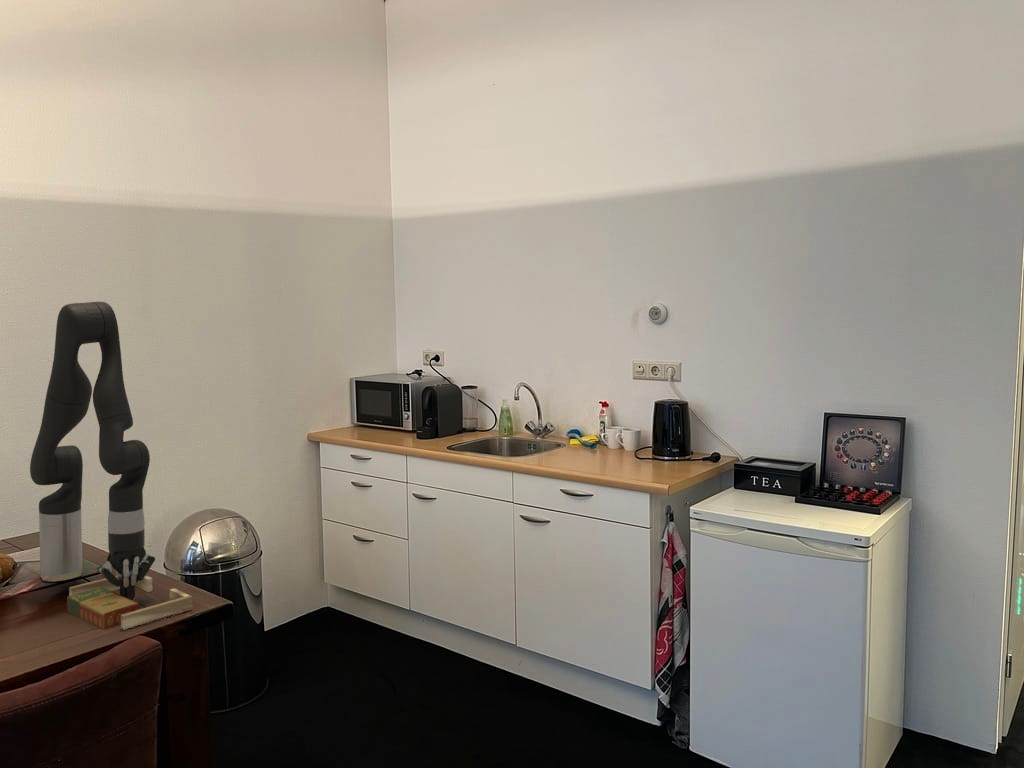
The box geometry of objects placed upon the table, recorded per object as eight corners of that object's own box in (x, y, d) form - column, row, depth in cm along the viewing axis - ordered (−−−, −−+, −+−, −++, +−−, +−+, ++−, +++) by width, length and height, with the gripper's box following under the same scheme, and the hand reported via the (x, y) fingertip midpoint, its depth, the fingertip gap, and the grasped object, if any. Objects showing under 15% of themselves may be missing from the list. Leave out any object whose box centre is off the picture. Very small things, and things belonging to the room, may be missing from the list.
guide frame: (69, 600, 190) (69, 587, 189) (136, 583, 202) (136, 570, 202) (123, 630, 174) (123, 616, 174) (192, 609, 187) (192, 596, 187)
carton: (102, 632, 175) (102, 613, 174) (66, 613, 184) (65, 595, 184) (139, 620, 181) (139, 602, 181) (102, 602, 191) (102, 585, 190)
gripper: (145, 519, 193) (146, 589, 195) (89, 530, 183) (90, 604, 185) (162, 525, 189) (163, 597, 191) (105, 537, 178) (107, 613, 180)
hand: (127, 600), depth 188 cm, fingers closed
